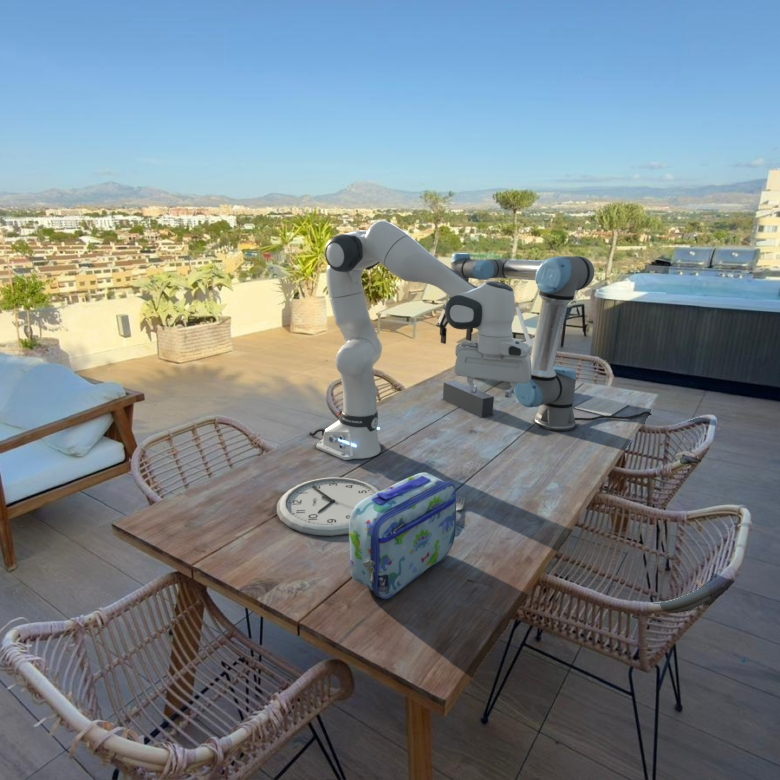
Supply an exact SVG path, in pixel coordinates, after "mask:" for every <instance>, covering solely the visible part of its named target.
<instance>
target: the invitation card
mask: <svg viewBox="0 0 780 780" xmlns="http://www.w3.org/2000/svg"><path fill="white" fill-rule="evenodd" d="M628 406H629V404H627V403H623V402H618V401H614V400H609V399H605V398H601V397H596V396H593V397H592V398H590V399H588V400H586V401H584V402H582V403H580V404H578V405H575V406H574V407H573V409H575V410H581V411H584V412H587V413H593V414H596V415H599V416H614V414H616V413H617V412H619V411H621V410H623V409H624V408H626V407H628Z"/></svg>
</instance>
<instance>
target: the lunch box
mask: <svg viewBox="0 0 780 780" xmlns="http://www.w3.org/2000/svg"><path fill="white" fill-rule="evenodd" d="M456 497H457V489H456V486H455V484H454V483H453V482H452V481H445V480H442V479H440V478H439V477H436V476H434V475H433V474H431V473H429V472H426V471H425V472H424V471H423V472H419V473H416V474H413V475H411V476H409V477H407V478H405V479H403V480H401V481H400V480H399V481H398V482H396V483H395V484H392V485H390V486H388V487H385V488H383V489H382V490H380V492H378V493H376V494H374V495H372V496H370V497H367V498H365V499H363V500H362V501H360V502H359V503H358V504H357V505H356V506H355V507H354V509H353V511H352V513H351V515H350V520H349V534H348V542H349V543H348V544H349V568H350V575H351V577H352V579H353V581H355V582H356V583H359V584H361V585H362V586H364V587H366V588H367V589H369V590H370V591H372V592H373V593H374V595H375V596H377V597H378V598H380V599H384V600H387V599H390V598H392V597H394V596H395V595H396V594H397V593H398V592H400V591H401V590H403V589H404V588H405V587H406V586H407V585H410V584H411V583H412V582H413V581H414V580H416V579H417V578H418V577H419V576H421V575H422V574H423V573H425V571H427V570H428V569H429V568H431V567H433V566H435V565H436V564H438V563H439V562H441V561H442V560H443V559H445V558H446V557H447V556H448V554H449V552H450V551H451V550H452V547H453V545H454V542H455V539H456V538H455V536H456V526H457V525H456V524H457V511H456V504H457V501H456Z"/></svg>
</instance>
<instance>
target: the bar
mask: <svg viewBox="0 0 780 780" xmlns="http://www.w3.org/2000/svg"><path fill="white" fill-rule="evenodd" d="M442 388H443V389H442V400H444V401H446V402H448V403H450V404H453V405H454V406H456V407H459V408H460V409H463V410H465V411H467V412H469V413H470V414H471V413H472V414H473V415H476V416H477V417H480V418H485V417H490V416H493V413H494V401H495V396H493V395H490V394H488V393H486V392H484V391H481V390H478V389H477V392H476V393H470V388H471V387H470V386H469V385H466V384H464V383H461V382H460V381H457V380H449V381H444V382H443V387H442Z"/></svg>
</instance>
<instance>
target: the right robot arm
mask: <svg viewBox="0 0 780 780" xmlns="http://www.w3.org/2000/svg"><path fill="white" fill-rule="evenodd" d="M450 269H452V270H453V271H454V272H456V273H457V274H458V275H460V276H461V277H462V278H464V279H465V280H466V281H468V282H469V281H470V279H475V280H478V281H487V280H490V279H512V280H524V281H525V280H526V281H535V284H536V287H537V289H538V290H539V291H538V296H539V298H540V300H541V304H540V308H539V314H538V318H537V324H536V328H535V334H534V337H533V338H534V343H533V348H532V352H531V353H530V359H531V368H532V372H531V380H530V381H529V382H528V383H527V384H523V383H517V385H516V386H515V388H514V389H513V393H514V396H515V398H516V400H517V401H518V403H520V404H521V405H522V406H523V407H526V408H538V410H537V411H536V413H535V416H534V424H535V425H536V426H537V427H539V428H542V429H544V430H549V431H556V432H567V431H572V430H574V429H575V428H576V421H595V420H599V419H616V420H629V419H633V418H637V417H641V416H644V415H648V416H652V413H651V412H650V411H648V410H645V411H643V412H640V413H638V414H632V415H628V416H618V415H611V416H604V415H598V416H594V417H576V416H575V413H574V407H573V405H574V398H575V390H576V383H577V372H576V371H575V369H572V368H571V367H570V368H569V367H566V366H561V365H555V363H556V359H557V353H558V349H559V344H560V342H561V341H560V340H561V335H562V331H563V327H564V323H565V318H566V315H567V311H568V310H567V309H568V305H569V304H570V303H572V302H573V301H574V300H575V294H576V291H581V290H584V289H585V288H588V286H590V285H591V283H592V282H593V280H594V278H595V267H594V264H593V263H592V261H591V260H590V259H588V258H587V257H584V256H580V255H573V256H560V255H558V256H553V257H549V258H547V259H545V260H541V259H540V260H539V259H538V260H537V259H517V258H516V259H514V258H512V259H511V258H493V259H492V258H489V259H488V258H487V259H486V258H485V259H477V258H476V259H475V258H471V254H470V253H467V252H454V253H452V255H451V261H450ZM469 283H470V282H469ZM450 298H451V297H450V296H449V298H448V300H449V299H450ZM446 304H447V303H443V306H442V310H441V312H440V314H439V316H438V319H437V321H436V323H435V326H436V327H438V328H439V336H440V343H441V344H442V345H443V344H444V345H446V344H447V332H448V331H447V326H448V324H449V323H448V321H447V319H446V316H445V306H446ZM465 331H466V333H465V340H466V341H469V342H471V341H472V336H473V335H472V333H473V332H474V328H472V329H466V330H465Z"/></svg>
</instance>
